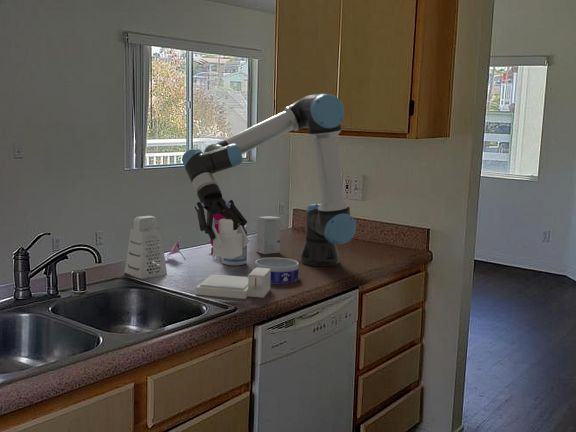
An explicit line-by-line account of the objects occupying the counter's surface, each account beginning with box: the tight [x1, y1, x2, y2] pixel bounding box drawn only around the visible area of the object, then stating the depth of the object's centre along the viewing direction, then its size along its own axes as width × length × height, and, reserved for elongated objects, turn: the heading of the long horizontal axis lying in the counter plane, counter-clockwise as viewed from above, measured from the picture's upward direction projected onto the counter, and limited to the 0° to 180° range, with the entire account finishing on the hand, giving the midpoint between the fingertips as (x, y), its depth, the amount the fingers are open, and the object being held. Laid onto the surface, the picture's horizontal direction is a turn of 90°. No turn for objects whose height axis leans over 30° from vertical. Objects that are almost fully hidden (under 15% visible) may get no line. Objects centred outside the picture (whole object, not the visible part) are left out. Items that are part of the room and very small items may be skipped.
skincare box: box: [256, 215, 282, 255], centre depth 267 cm, size 8×6×15 cm
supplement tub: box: [221, 224, 248, 267], centre depth 245 cm, size 10×10×15 cm
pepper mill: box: [210, 209, 226, 254], centre depth 263 cm, size 7×7×20 cm
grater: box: [124, 215, 168, 280], centre depth 225 cm, size 10×10×20 cm
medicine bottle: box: [212, 218, 243, 259], centre depth 206 cm, size 7×7×12 cm
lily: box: [165, 236, 187, 261], centre depth 248 cm, size 12×12×10 cm
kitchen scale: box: [195, 267, 271, 300], centre depth 208 cm, size 21×16×7 cm
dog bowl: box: [254, 257, 300, 285], centre depth 226 cm, size 15×15×6 cm
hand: (233, 245), depth 204 cm, fingers closed on medicine bottle, 9 cm apart
